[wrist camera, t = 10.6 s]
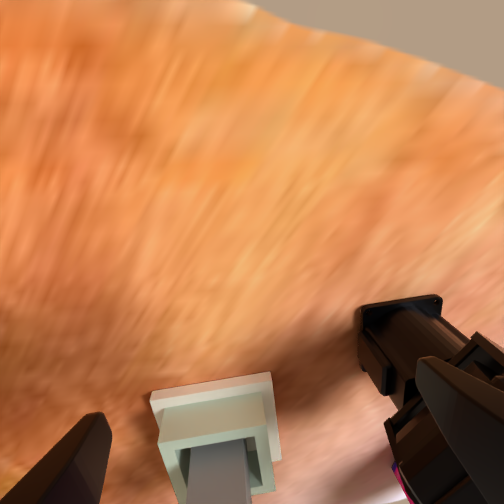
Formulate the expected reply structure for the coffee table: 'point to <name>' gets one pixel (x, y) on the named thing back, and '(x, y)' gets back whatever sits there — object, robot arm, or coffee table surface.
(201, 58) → the coffee table surface
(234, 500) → the peg
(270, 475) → the socket block
